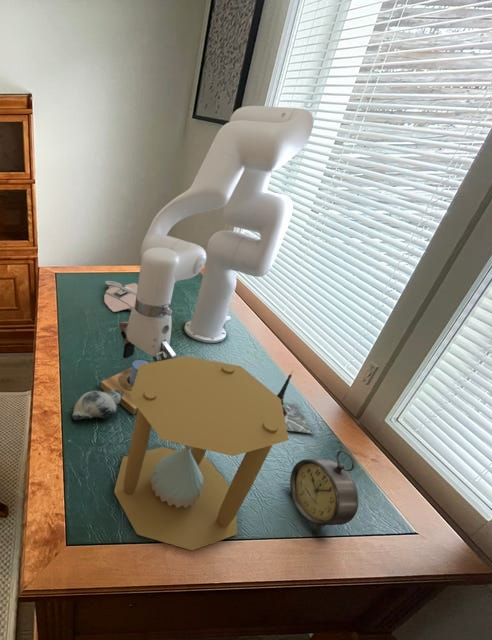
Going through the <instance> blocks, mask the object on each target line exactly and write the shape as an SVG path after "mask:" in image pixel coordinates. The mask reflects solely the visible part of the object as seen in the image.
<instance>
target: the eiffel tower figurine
mask: <svg viewBox="0 0 492 640" xmlns="http://www.w3.org/2000/svg"><path fill="white" fill-rule="evenodd" d="M293 372H294V371H293V370H292V371H291V373H290V374H288V376H287V378H286V380H285V382H284V384H283V385H282V387H281V389H280V391H279V392H278V393H277V394H276V396H277V397H279V398H280V399H281V403H282V408H283V413H284V418H285V423H286V428H287V432H288V431H289V432H298V433H304V434H314V432H313V431H312V429H311V427H310V425H309V424H308V422H307V420H306V418H305V417H304V415H303V413H302V411H301V410H300V408H299V406H298V404H297V403H292V402H291V403H289V402H284V399H285V393H286V390H287V388H288V385H289V382H290V380H291V378H292V376H293V375H292V373H293Z"/></svg>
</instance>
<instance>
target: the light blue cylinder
mask: <svg viewBox="0 0 492 640" xmlns="http://www.w3.org/2000/svg"><path fill="white" fill-rule="evenodd" d="M146 361H147V360H142V359H136V360H133V362H132V364H131V367H132V369H131V375H130V381H128V383H129V384H130V385H131V386H134V382H135V379H136V375H137V372H138V368H139V365H141V364H146V363H147V362H148V361H147V362H146Z"/></svg>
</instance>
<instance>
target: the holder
mask: <svg viewBox="0 0 492 640" xmlns="http://www.w3.org/2000/svg"><path fill="white" fill-rule="evenodd" d="M145 361H146V362H147V363H149V362H148V361H147V360H145ZM131 369H132V366H131V367H129V368H126V369H124V370H122V371H120V372H118V373H116V374H114V375H112V376H110V377H108V378H105V379H103V380H102V381H100V389H102V390H103V392H104V391H108V390H109V391H114V390H118V391H119V390H123V391H124V393H123V396H122V398H121V401H120V403H119V404H120V405H121V406H122V407H123V408H125V409H126V410H127V411H128V412H129V413H131V414H132V415H133V416H134V415H137V413H138V407H137V406H136V405H135V403H134V402H133V401H132V399H131V398H130V396H131V393H132V389H133V386H131V385H130V384H129V381H130V375H131Z"/></svg>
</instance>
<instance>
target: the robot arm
mask: <svg viewBox="0 0 492 640" xmlns="http://www.w3.org/2000/svg"><path fill="white" fill-rule="evenodd" d="M313 128H314V117H313V114H312V112H310V111H309V110H307V109H304V108H293V107H277V106H269V105H268V106H267V105H246V106H242V107H239V108H237V109H235V111H233V113H232V114H231V116H230V119H229V121H228V122H226V123H225V124H224V125H222V127H220V129H218V131H217V133H216V135H215V136H214V139H213V141H212V143H211V146H210V148H209V149H208V152H207V153H206V156H205V157H204V159H203V161H202V164H201V166H200V168H199V170H198V172H197V174H196V175H195V177H194V180H193V182H192V183H191V186H190V187H189V188H188V189H187V190H185V191H184V192H182V193H180V194H178V196H176V197H174V198H173V199H172V200H171V201H169V202H168V203H167V204H165V206H164V207H162V208H161V209H160V211H158V213H156V215H155V217H154V218H153V220H152V222H151V224H150V225H149V228H148V230H147V232H146V233H145V236H144V239H143V240H142V244H141V247H140V250H139V251H140V252H139V256H140V267H139V274H138V281H137V285H138V288H137V295H136V302H135V305H134V306H133V308H132V311H131V310H130V314H129V317H128V321H122V322H120V323H119V328H120V335H121V337H122V339H123V340H122V344H123V345H124V347H123V352H122V353H123V354H122V359H128V358H129V357H132V356H134V355H135V347H137V348H138V349H139V350H141V351H143V352H144V353H146V354H147V355H149V356H151V357H152V359H153V362H157V361H162V360H167V359H172V358H177V354H176V352H175V351H174V350H173V348H172V347H171V346H170V344H171V337H172V336H171V335H172V314H173V310H172V309H171V302H172V298H173V292H174V289H175V284H176V283H177V282H181V281H187V280H190V279H193V278H194V277H196V276H198V275H199V274H200V273H201V272H202V271H203V269H204V271H203V275H202V279H201V283H200V286H199V289H198V294H197V297H196V302H195V306H194V309H193V314H192V317H191V320H189V321H187V322H186V323H185V325H184V328H183V329H184V332H185V333H186V335H187V336H188V337H189V338H192V339H193V340H196V341H199V342H203V343H206V344H207V343H208V344H215V343H220V342H222V341H224V340H225V339H226V337H227V331H226V329H225V328H224V325H225V324H226V323H228V322H230V321H231V318H232V317H231V316H230V315H228V314H229V310H230V306H231V304H232V300H233V297H234V295H235V292H236V289H237V283H238V281H237V275H236V272H238V273H241V274H244V275H248V276H251V277H255V278H260V277H264V276H265V275H267V274H268V273H269V272H270V270H271V268H272V267H273V264H274V263H275V260H276V258H277V255H278V252H279V250H280V248H281V245H282V242H283V239H284V237H285V234H286V231H287V230H288V226H289V223H290V220H291V217H292V215H293V208H294V205H293V200H292V199H291V197H289V196H287V195H285V194H280V193H277V192H271V191H268V186H269V183H270V180H271V178H272V177H271V176H272V174H273V171H276V170H278V169H280V168H281V167H283V165H285V164H286V163H287V162H288V161H290V160H291V159H293V158H294V157H295V156H296V155H298V153H300V152H301V151H302V149H303V148H304V147H305V146H306V144H307V143H308V140H309V139H310V138H311V134H312V131H313ZM221 208H223V211H222V219H223V222H224V223H225V224H227V225H228V226H230V227H234V228H237V229H241V230H246V231H251V232H254V233H258V234H259V236H260V237H257V236H253V235H250V234H246V233H242V232H237V231H235V230H234V231H233V230H226V229H224V230H219V231H216V232H215V233H213V235H211V237H210V238H209V240H208V242H207V244H206V245H207V246H206V249H204V248H203V247H202V246H201V245H199V244H197V243H194V242H190V241H186V240H183V239H180V238H177V237H174V236H170V235H168V233H169V232H170V230H171V229H172V228H173V227H174V226H175V225H176V224H177V223H178V222H180V221H182V220H183V219H185V218H187V217H190V216H194V215H198V214H202V213H206V212H210V211H215V210H219V209H221ZM159 357H160V358H159Z"/></svg>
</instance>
